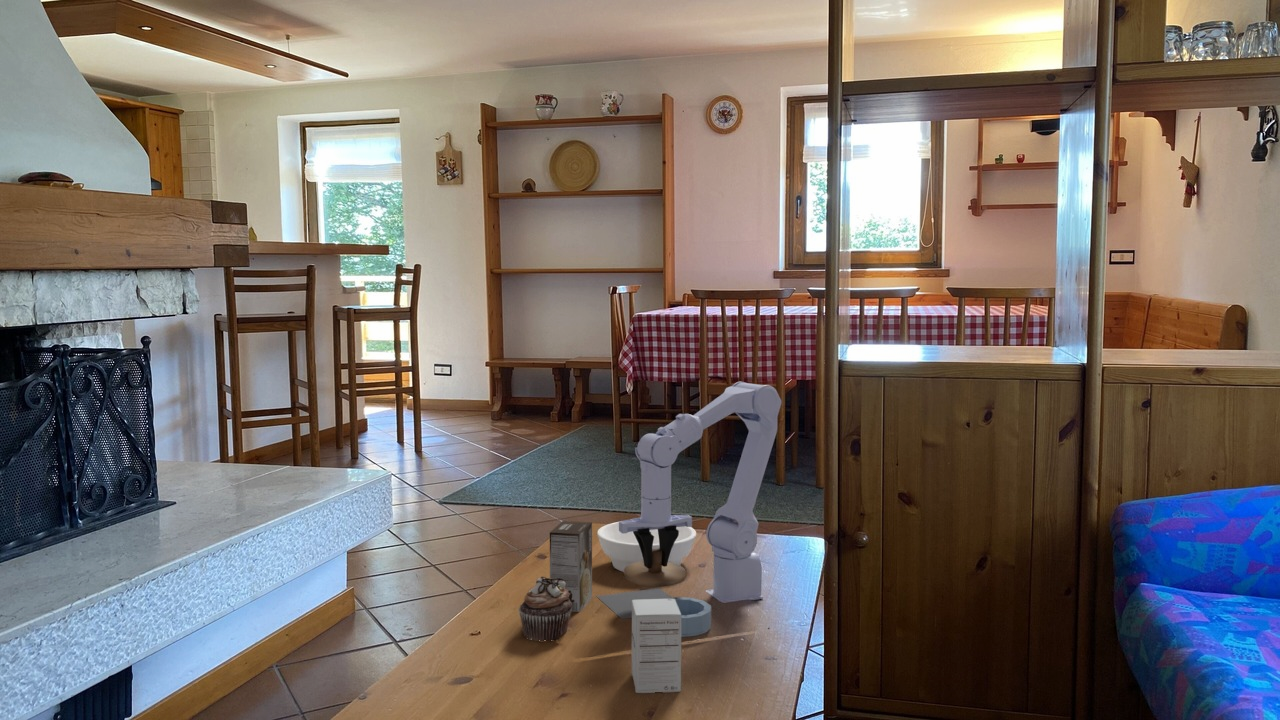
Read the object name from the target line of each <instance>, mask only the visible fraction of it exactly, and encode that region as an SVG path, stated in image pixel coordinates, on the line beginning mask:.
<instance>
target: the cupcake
mask: <svg viewBox="0 0 1280 720" xmlns="http://www.w3.org/2000/svg"><path fill="white" fill-rule="evenodd" d="M565 585H566V583H565V582H564V579H562V578H550V577H548V578H547V577H546V576H540V577H538V578H537V579H536V580H535V585H534V586H533V587H531V588H530V589H528V592H527V593H525V595H524V601H523V602H522V603H521V604H519V607H518V613H519V617H520V622H521V626H522V632H523V633H522V634H523V636H525V637H524V638H526V639H527V638H528V639H527V640H529V639H532V640H531V641H533V640H536V641H535V642H537V641H539V640H540V641H544V640H546V641H548V642H552V641H551V640H555V641H558V640H559V637H561V636H563V635H565V634H566V633H567V632H568V627H569V621H570V618H571V614H572V611H571V610H572V602H571V601H570V599H569V598H568V597H569V592H568V591H567V590H566V589H565Z"/></svg>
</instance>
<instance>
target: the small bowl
mask: <svg viewBox="0 0 1280 720" xmlns="http://www.w3.org/2000/svg"><path fill="white" fill-rule="evenodd" d="M671 597H672V598H665V599H675V600H676V603H677V605H678V608H679V610H680V612H681V638H682V637H684V638H685V637H694V636H700V635H704V634H705V633H707V632H708V631H710V629H711V626H712V605H711V604H709V603H708V602H707V601H705V600H702V599H698V598H693V597H685V596H683V597H682V596H674V597H673V596H671Z"/></svg>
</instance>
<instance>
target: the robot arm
mask: <svg viewBox="0 0 1280 720" xmlns="http://www.w3.org/2000/svg"><path fill="white" fill-rule="evenodd" d="M781 405H782V399H781V398H780V395H779V393H778V391H777V389H776V388H775V387H773V386H772V385H769V384H765V385H763V384H756V383H748V382H744V381H737V382H735V383H733V384H732V385H730V386H728V387H726V388H725V389H724V392H723V393H722V394H720V395H719V396H718V397H716V398H715V399H713V400H712V401H710V402H709V403H708V404H707V405H705V406H704V407H703V408H701V409H700V410H699V411H697V412H696V413H694V414H693V415H692V414H689V413H678V414H677V415H676V416H675V419H674V420H672V422H670V423H668V424H667V425H665V426H660V427H659V428H657V431H656V432H655V433H646V434H644V435H643V436H641V438H640V440H639V441H638V443H637V447H635V448H634V451H635V452H634V453H635V456H636V457H637V459H638V460H639V464H640V465H639V466H640V467H639V468H640V471H641V473H640V475H641V476H640V477H641V478H640V479H641V481H640V482H641V483H640V484H641V485H640V487H641V490H640V491H641V492H640V500H641V501H640V503H641V504H640V505H641V506H640V507H641V509H640V510H641V511H640V517H635V518H631V519H625V520H621V521H618V522H619V531H620V532H621V533H627V532H633V533H634V535H635V537H636V539H637V541H638V544H639V546H640V549H641V552H642V556H643V560H644V566H645V567H647V568H652V546H653V540H654V536H653V535H652V534H651V532H649V530H653V529H658V535H659V545H660V549H661V550H662V566H664V567H665V566H667V563H668V559H669V555H670V552H671V549H672V547H673V545H674V543H675V541H676V539H677V537H678V535H679V530H677V529H676V527H683V526H686V527H692V528H693V517H692V515H691V516H690V515H689V514H681V515H680V514H679V515H678V514H677V515H676V514H675V515H672V465H673V464H674V463H675V462H676V460H677V458H678V455H679V454H680V453H681V452H682V451H684V450H685V449H687V448H688V447H690V446H691V445H693V444H695V443H697V442H698V441H699V440H701V438H702V437H703V433H704V430H705V429H707V428H709V427H710V426H712V425H714V424H716V423H718V422H719V421H721V420H723V419H724V418H726V417H728V416H729V415H731V414H736V415H737V416H738V418H740V419H741V420H742V422H743V423H744V424H745V426H746V429H747V430H748V434H747V437H746V439H745V443H744V447H743V449H742V452H741V457H740V459H739V463H738V464H737V465H738V466H737V469H736V472H735V476H734V478H733V482H732V485H731V489H730V491H729V494H728V495H729V496H728V498H727V501H726V503H725V504H723V505H722V506H721V507H718V508H717V509H716V512H715V515H714V517H713V518H712V520H711V521H710V523H709V524H708V526H707V527H706V533H705V534H706V540H707V542H708V544H709V545H710V546H711V551H712V552H713V570H712V571H713V572H712V573H713V575H712V576H713V577H712V578H713V579H712V580H713V581H712V589H707V590H705V592H706V593H707V594H709V595H710V596H712V597H713V598H715V600H716V599H717V601H719V602H721V603H722V604H725V603H731V602H732V603H733V602H737V601H744V600H750V601H756V600H763V599H764V595H762V579H763V578H762V575H763V574H762V570H763V567H762V562H761V558H760V556H759V555H758V554H757V553H756V552H754V551H755V549H756V547H757V544H758V535H757V533H758V528H759V525H760V524H759V522H758V520H757V517H756V516H755V514H754V512H753V511H754V508H755V504H756V501H757V498H758V495H759V491H760V488H761V485H762V482H763V478H764V475H765V471H766V469H767V465H768V462H769V458H770V455H771V452H772V448H773V445H774V442H775V439H776V436H777V432H778V416H779V413H780V409H781ZM736 521H737V522H736Z"/></svg>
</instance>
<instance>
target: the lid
mask: <svg viewBox="0 0 1280 720" xmlns="http://www.w3.org/2000/svg"><path fill="white" fill-rule="evenodd" d="M623 577H624V578H625V580H626V581H628V582H629V583H631V584H635V585H638V586H643V587H653V588H660V587H663V588H664V587H671V586H676V585H678V584H681V583H683V582H684V581H685V580H686V578H687V571H686V569H685V567H684V566H682V565H677V564H674V563H670V562H668V563H667V566H665V567H664V566H662V550H661V549H652V568H647V567H645V566H644V561H641V562H636V563H632V564H630V565H628V566H626V567H625V569H624V572H623Z"/></svg>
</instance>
